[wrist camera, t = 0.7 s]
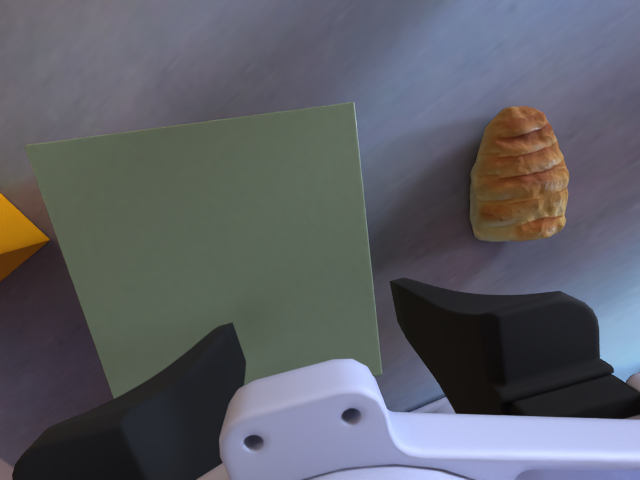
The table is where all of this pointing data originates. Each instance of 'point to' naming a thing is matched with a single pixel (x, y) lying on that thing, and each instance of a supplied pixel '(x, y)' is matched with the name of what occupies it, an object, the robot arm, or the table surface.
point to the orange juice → (16, 238)
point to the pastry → (518, 179)
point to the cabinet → (217, 240)
